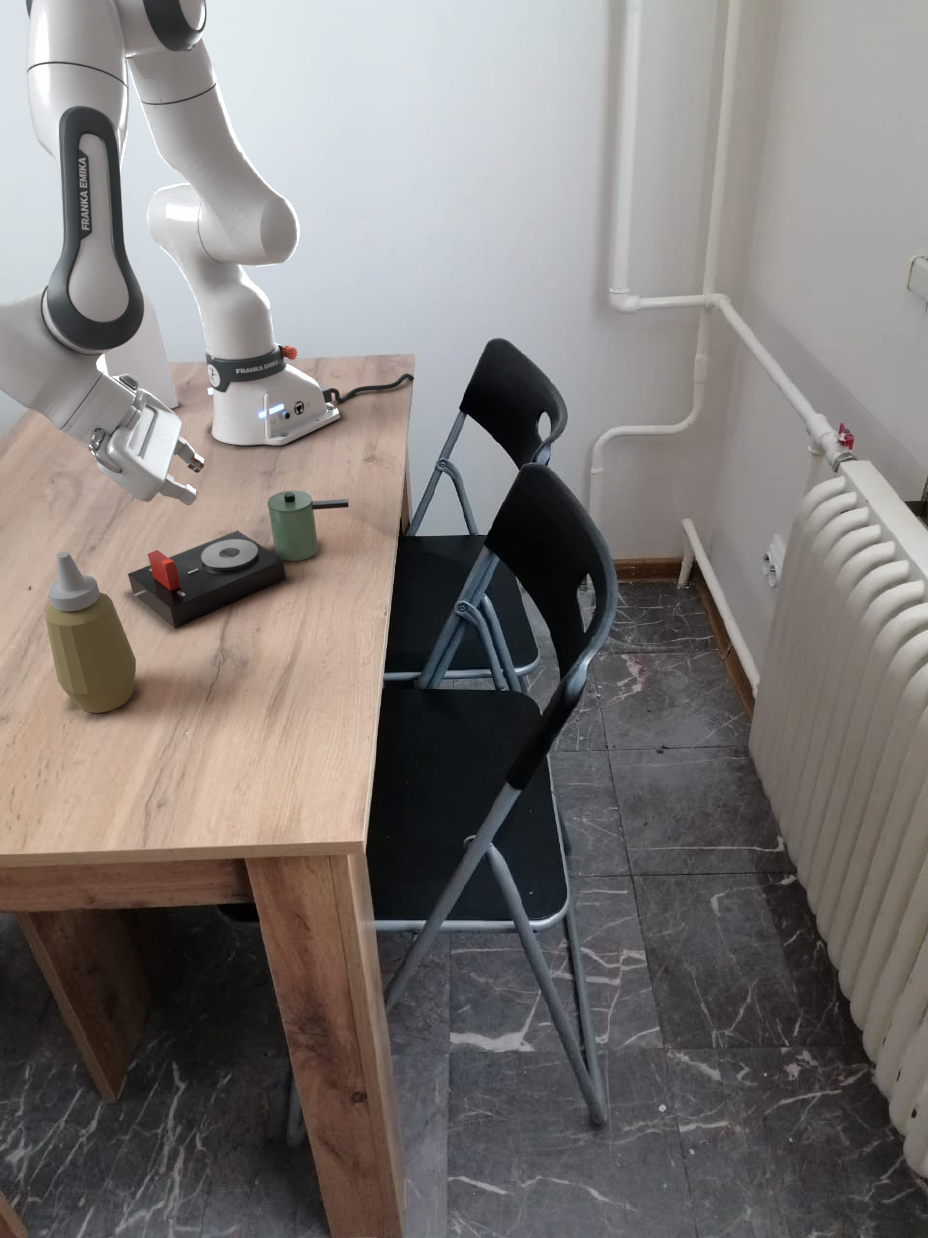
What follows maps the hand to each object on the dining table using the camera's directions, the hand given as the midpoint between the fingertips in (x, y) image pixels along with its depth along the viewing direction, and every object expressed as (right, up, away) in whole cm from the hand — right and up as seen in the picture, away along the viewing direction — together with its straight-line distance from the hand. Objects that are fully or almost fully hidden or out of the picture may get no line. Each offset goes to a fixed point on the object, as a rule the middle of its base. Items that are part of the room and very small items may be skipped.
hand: (198, 482), depth 121 cm
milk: (-27, +21, +52) cm, 62 cm away
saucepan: (+13, -8, +7) cm, 17 cm away
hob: (+2, -13, 0) cm, 13 cm away
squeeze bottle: (-5, -26, -19) cm, 33 cm away
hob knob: (-2, -13, -5) cm, 14 cm away
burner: (+4, -10, 0) cm, 10 cm away
